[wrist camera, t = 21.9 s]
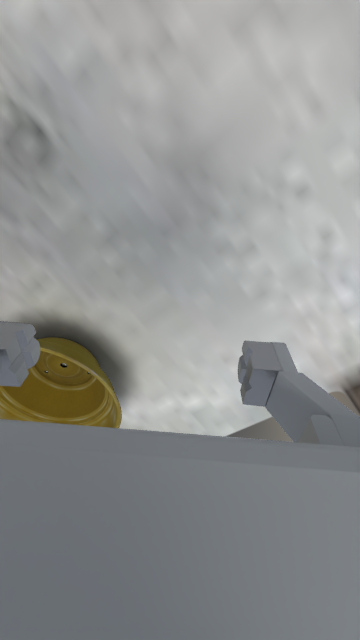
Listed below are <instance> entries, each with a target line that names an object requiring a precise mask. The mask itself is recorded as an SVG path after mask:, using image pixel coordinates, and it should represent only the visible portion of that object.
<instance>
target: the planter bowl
mask: <svg viewBox="0 0 360 640" xmlns="http://www.w3.org/2000/svg"><path fill="white" fill-rule="evenodd" d="M36 340H37V341H38V342H39V344H40V356H39V359H38V361H37V363H36V364H35V365H34V366H33V367H31V368H29V369H28V371H29V375H28V376H27V377H26V379H25V380H24V382H23V383H22V385H21V386H20V387H16V386H0V419H7V420H20V421H33V422H45V423H58V424H71V425H84V426H96V427H109V428H119V427H120V424H121V418H122V414H121V407H120V404H119V401H118V399H117V397H116V395H115V392H114V389H113V387H112V384H111V382H110V380H109V379H108V377H107V376H106V375H105V373H104V372H103V371H102V370H101V368H100V366H99V364H98V362H97V360H96V359H95V357H94V356H93V355H92V354H91V353H90V352H89V351H88V350H87V349H86V348H84V347H83V346H81V345H79V344H77V343H75V342H73V341H70V340H67V339H63V338H56V337H49V338H41V339H36ZM61 363H65V364H67V367H66V368H63V367H61V366H60V364H61ZM45 370H46V371H48V373H45ZM87 372H89V373H91V374H88V373H87Z"/></svg>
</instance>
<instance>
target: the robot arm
mask: <svg viewBox="0 0 360 640" xmlns="http://www.w3.org/2000/svg"><path fill="white" fill-rule="evenodd" d="M35 334H36V331H35V328H34V326H33V325H31V324H26V323H16V322H4V321H0V386H16V387H20V386H21V385H22V383H23V382H24V380H25V379H26V377H27V376H28V375H29V371H28V369H29V368H31V367H33V366H34V365H35V364H36V363H37V361H38V359H39V356H40V344H39V342H38V341H37V340H36V339H35V338H34V336H35ZM242 352H243V355H242V356H241V357H240V358H239V363H238V379H239V382H240V383H241V384H242V386H241V390H240V391H241V397H242V402H243V404H246V405H255V406H265V408H266V409H267V410H268V411H269V413H270V414H271V415H272V416H273V417H274V419H275V420H276V421H277V422H278V423H279V424H280V426H281V427H282V428H283V429H284V431H285V432H286V433H287V434H288V435H289V437H290V438H291V439H292V440H293V442H285V441H273V440H260V439H248V438H235V437H222V436H209V435H197V434H184V433H172V432H159V431H147V430H134V429H122V428H109V427H96V426H84V425H71V424H58V423H45V422H33V421H20V420H7V419H0V640H360V417H359V416H357V415H356V414H355V413H354V412H352V411H351V410H350V409H348V408H347V407H346V406H344V405H343V404H342V403H340V402H339V401H338V400H336V399H335V398H334V397H333V396H331V395H330V394H329V393H327V392H326V391H325V390H323V389H322V388H321V387H320V386H318V385H317V384H316V383H314V382H313V381H312V380H310V379H309V378H308V377H307V376H305V375H304V374H303V373H298V371H297V369H296V367H295V364H294V362H293V360H292V357H291V355H290V353H289V351H288V348H287V346H286V344H285V343H278V342H256V341H244V343H243V346H242Z"/></svg>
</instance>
